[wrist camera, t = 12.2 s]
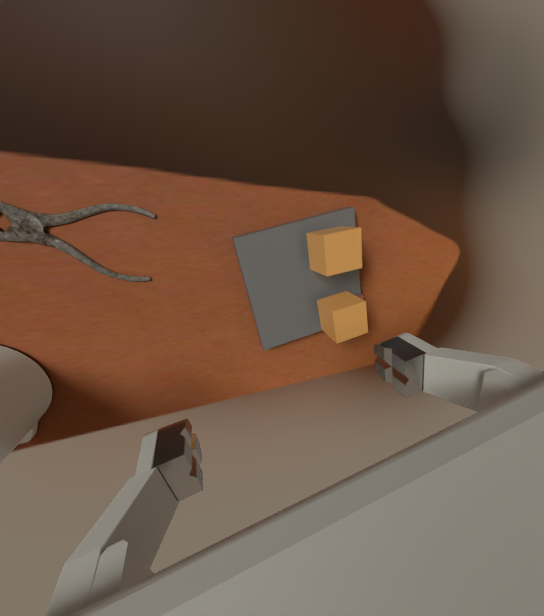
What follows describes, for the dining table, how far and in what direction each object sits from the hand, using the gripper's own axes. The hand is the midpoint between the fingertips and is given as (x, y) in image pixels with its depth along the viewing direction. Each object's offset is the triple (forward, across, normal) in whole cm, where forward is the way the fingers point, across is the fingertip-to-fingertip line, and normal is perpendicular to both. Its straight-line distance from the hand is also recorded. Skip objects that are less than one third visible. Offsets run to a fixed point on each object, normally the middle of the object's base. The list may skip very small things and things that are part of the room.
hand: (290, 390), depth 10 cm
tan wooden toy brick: (+24, -14, +1) cm, 28 cm away
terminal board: (+28, -12, +6) cm, 31 cm away
